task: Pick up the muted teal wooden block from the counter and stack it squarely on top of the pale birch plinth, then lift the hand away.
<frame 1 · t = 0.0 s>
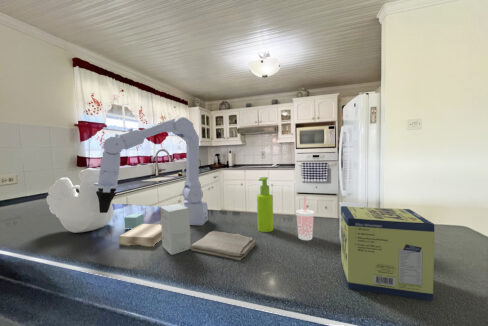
hand: (104, 210, 75), 11 cm above the worktop, tool pointing down, fingers open, 7 cm apart
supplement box: (352, 245, 67), on the worktop
birch plinth: (146, 238, 76), on the worktop
washcloth: (224, 249, 67), on the worktop
decorative rooster: (83, 228, 88), on the worktop
beverage cup: (305, 238, 73), on the worktop
protein box: (380, 281, 48), on the worktop
soap dispenser: (265, 230, 81), on the worktop
small box: (176, 248, 68), on the worktop
teal block: (134, 227, 87), on the worktop
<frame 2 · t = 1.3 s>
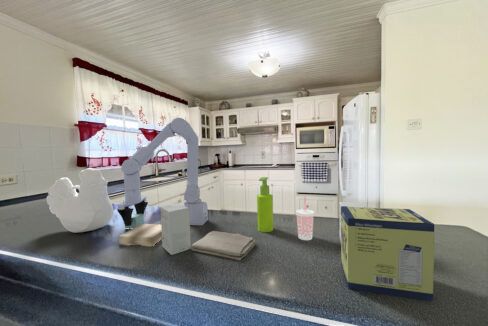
hand: (134, 222, 87), 2 cm above the worktop, tool pointing down, fingers open, 7 cm apart
nothing on the worktop moved.
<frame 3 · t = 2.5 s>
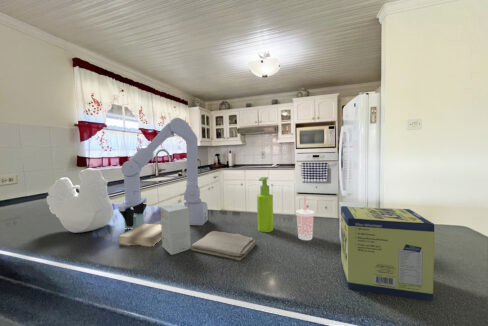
hand: (134, 223, 87), 1 cm above the worktop, tool pointing down, fingers closed on teal block, 5 cm apart
teal block: (134, 227, 87), on the worktop, touching gripper
everything else where it was.
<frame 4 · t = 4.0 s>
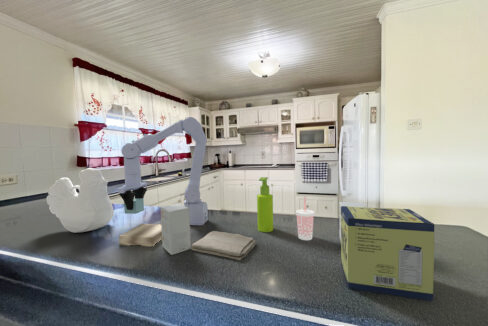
hand: (134, 207, 86), 8 cm above the worktop, tool pointing down, fingers closed on teal block, 5 cm apart
teal block: (134, 211, 86), point 7 cm above the worktop, touching gripper
everything else where it was.
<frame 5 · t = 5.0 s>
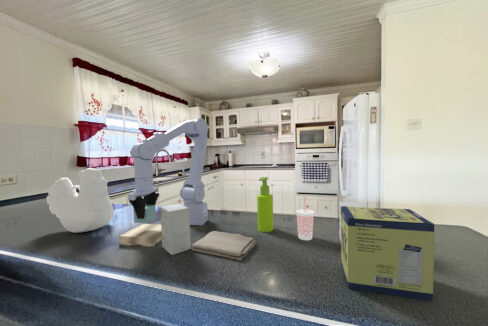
hand: (145, 215, 75), 8 cm above the worktop, tool pointing down, fingers closed on teal block, 5 cm apart
teal block: (145, 220, 75), point 6 cm above the worktop, touching gripper
everything else where it was.
when the fingers open (6 cm above the worktop, at t = 5.9 s): teal block drops 1 cm, resting on birch plinth.
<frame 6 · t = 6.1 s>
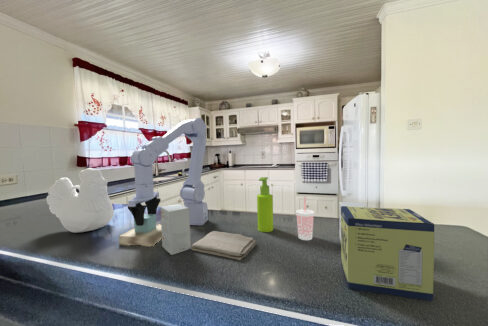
hand: (146, 221, 75), 6 cm above the worktop, tool pointing down, fingers open, 6 cm apart
teal block: (145, 230, 76), point 3 cm above the worktop, touching birch plinth
everything else where it was.
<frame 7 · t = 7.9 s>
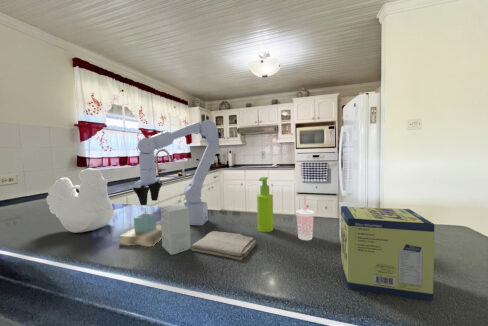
hand: (149, 202, 86), 10 cm above the worktop, tool pointing down, fingers open, 7 cm apart
nothing on the worktop moved.
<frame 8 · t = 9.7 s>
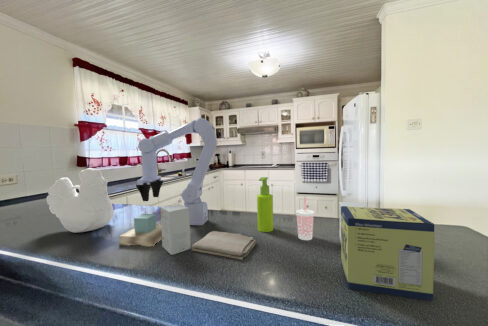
hand: (151, 199, 92), 10 cm above the worktop, tool pointing down, fingers open, 7 cm apart
nothing on the worktop moved.
at the end: teal block inside the target area on the birch plinth (0.3 cm from its centre), point 3.0 cm above the birch plinth's base; teal block tilted 0°; the gripper is holding nothing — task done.
